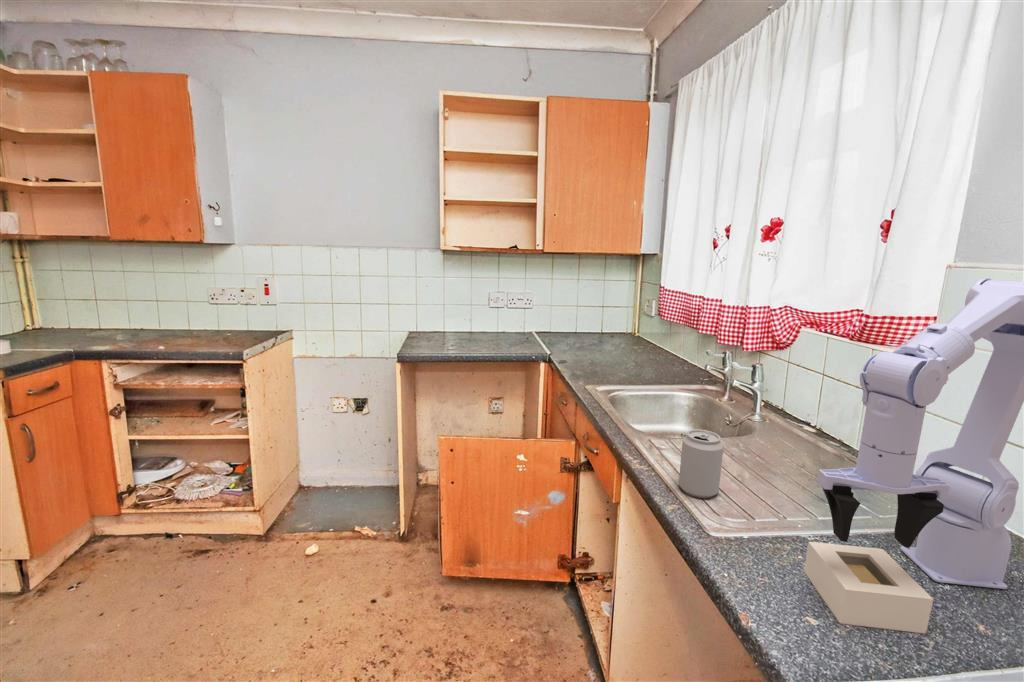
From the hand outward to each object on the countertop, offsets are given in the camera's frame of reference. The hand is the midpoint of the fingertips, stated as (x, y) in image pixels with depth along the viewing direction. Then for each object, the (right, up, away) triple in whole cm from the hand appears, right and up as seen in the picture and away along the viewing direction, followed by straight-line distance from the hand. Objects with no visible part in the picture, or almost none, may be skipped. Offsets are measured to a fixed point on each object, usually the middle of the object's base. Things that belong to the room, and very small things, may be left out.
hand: (870, 540), depth 62 cm
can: (-11, -3, +31) cm, 33 cm away
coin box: (0, -9, +2) cm, 9 cm away
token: (0, -9, +2) cm, 9 cm away
